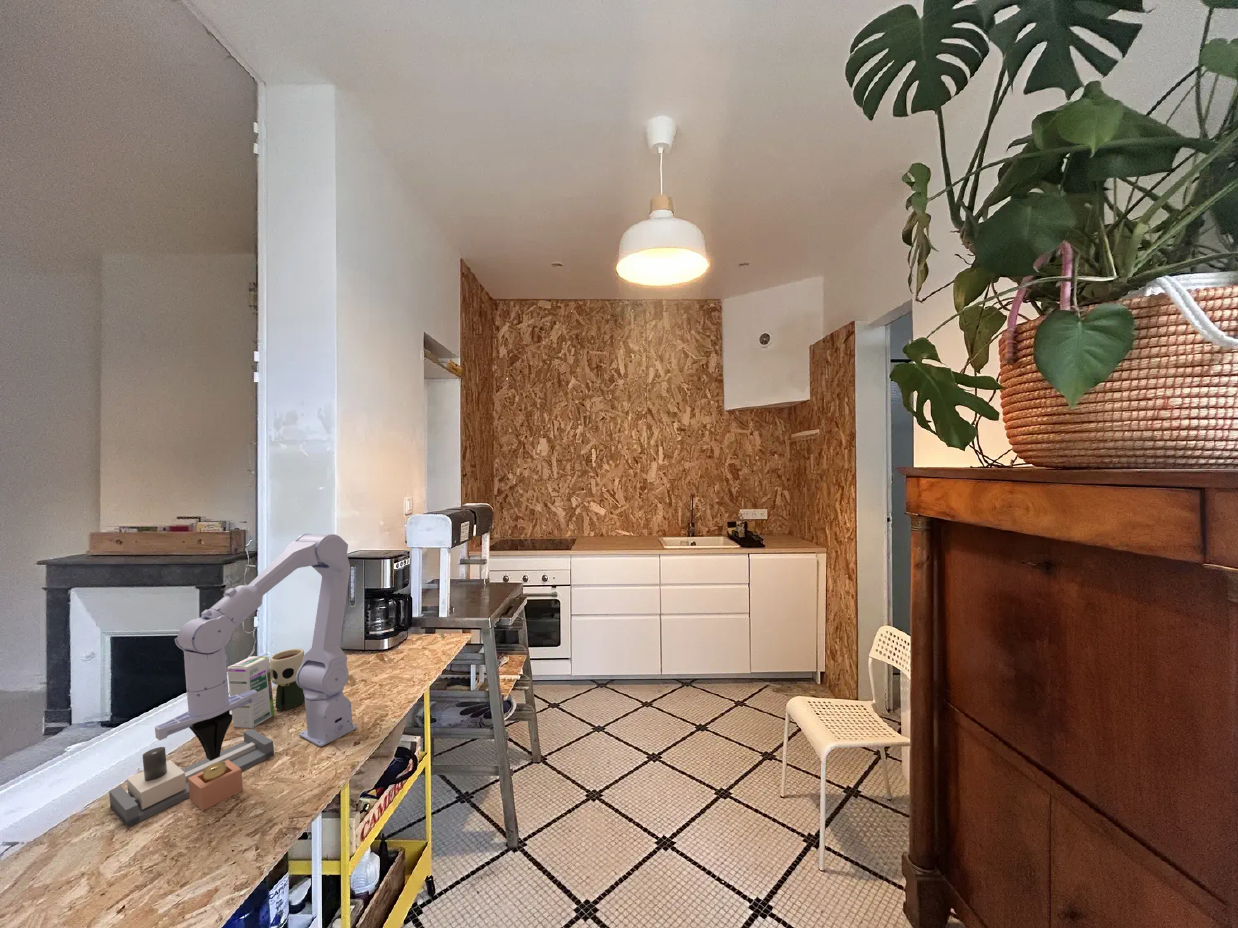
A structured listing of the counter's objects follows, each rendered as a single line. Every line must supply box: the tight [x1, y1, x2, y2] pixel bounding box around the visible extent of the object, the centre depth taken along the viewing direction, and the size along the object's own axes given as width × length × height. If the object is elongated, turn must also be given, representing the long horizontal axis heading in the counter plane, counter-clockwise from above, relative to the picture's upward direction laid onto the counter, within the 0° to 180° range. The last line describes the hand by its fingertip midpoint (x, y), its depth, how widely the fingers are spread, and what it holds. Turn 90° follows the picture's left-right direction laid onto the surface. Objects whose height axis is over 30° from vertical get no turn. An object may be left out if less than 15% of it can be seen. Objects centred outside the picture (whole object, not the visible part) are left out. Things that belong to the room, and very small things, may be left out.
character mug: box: [269, 648, 305, 711], centre depth 122 cm, size 11×7×13 cm, turn 94°
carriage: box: [126, 746, 186, 810], centre depth 90 cm, size 8×6×7 cm
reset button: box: [203, 761, 226, 783], centre depth 90 cm, size 3×3×3 cm
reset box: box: [188, 760, 244, 812], centre depth 90 cm, size 6×6×4 cm
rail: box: [108, 728, 275, 828], centre depth 95 cm, size 10×22×3 cm, turn 148°
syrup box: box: [226, 655, 275, 729], centre depth 115 cm, size 6×6×14 cm
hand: (213, 757), depth 90 cm, fingers closed
